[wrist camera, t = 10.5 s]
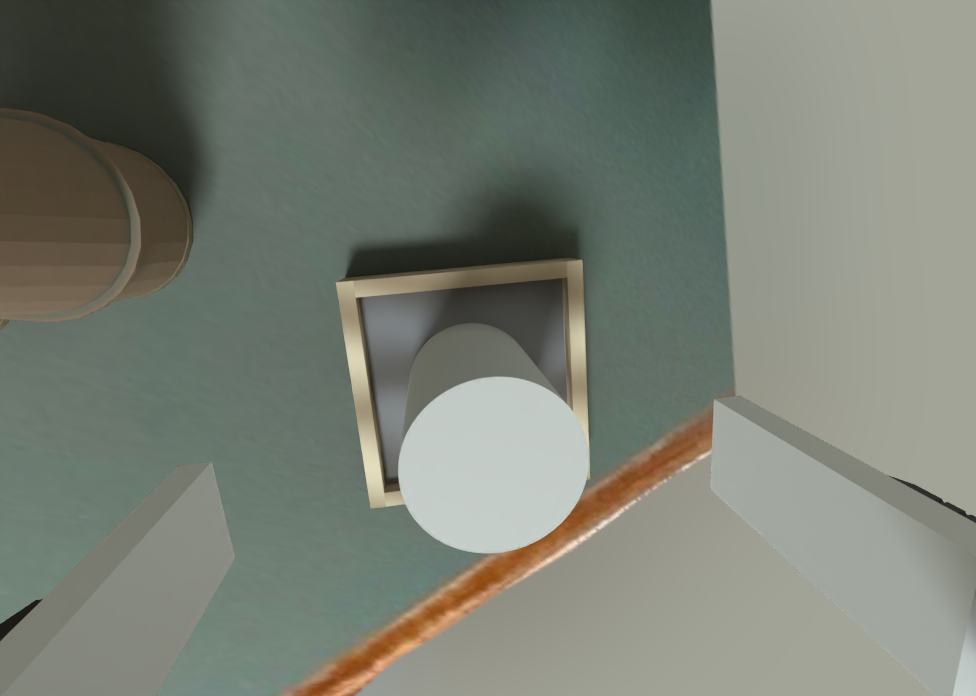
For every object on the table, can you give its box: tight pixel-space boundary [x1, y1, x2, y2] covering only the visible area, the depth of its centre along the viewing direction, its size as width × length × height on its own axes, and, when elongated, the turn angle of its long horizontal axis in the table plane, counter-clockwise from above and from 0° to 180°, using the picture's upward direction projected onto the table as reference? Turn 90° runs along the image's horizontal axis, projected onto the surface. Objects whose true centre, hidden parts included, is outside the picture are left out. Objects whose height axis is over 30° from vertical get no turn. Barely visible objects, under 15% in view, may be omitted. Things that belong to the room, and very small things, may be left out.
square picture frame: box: [336, 258, 590, 509], centre depth 33 cm, size 15×15×3 cm
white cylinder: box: [398, 323, 589, 553], centre depth 26 cm, size 8×8×12 cm
